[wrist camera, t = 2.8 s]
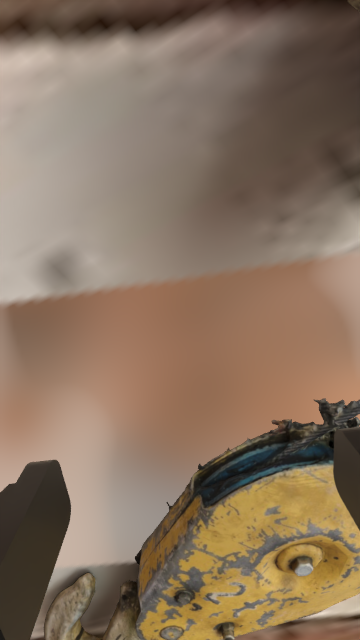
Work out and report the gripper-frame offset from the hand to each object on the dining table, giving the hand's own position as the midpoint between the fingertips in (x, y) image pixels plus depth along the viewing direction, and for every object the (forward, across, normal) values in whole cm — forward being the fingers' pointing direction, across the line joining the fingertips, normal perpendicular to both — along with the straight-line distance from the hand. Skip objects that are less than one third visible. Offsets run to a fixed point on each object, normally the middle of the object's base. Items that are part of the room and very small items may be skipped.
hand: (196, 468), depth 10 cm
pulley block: (+10, 0, +15) cm, 18 cm away
